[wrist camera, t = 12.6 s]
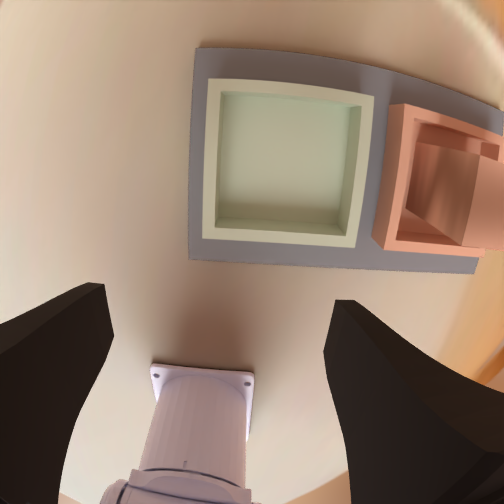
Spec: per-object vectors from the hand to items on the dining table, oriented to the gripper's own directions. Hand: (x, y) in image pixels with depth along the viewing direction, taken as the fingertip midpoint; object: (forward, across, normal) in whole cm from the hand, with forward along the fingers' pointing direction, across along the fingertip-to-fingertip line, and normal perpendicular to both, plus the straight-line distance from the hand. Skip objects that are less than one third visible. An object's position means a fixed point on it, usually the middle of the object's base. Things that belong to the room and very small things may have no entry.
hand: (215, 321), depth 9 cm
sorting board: (+9, -8, -4) cm, 13 cm away
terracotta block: (+9, -12, -4) cm, 15 cm away
